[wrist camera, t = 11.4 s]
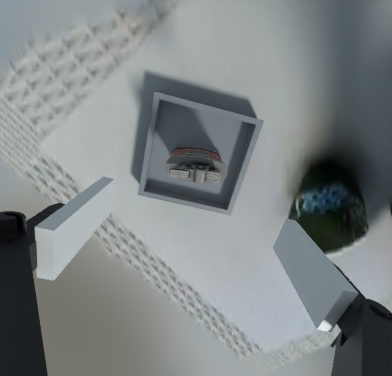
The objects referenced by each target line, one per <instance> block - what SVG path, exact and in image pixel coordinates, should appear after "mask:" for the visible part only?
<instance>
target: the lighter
mask: <svg viewBox="0 0 392 376" xmlns="http://www.w3.org/2000/svg"><path fill="white" fill-rule="evenodd" d="M165 170H166V173H167V174H168V175H169V176H170V177H174V178H177V179H181V180H185V181H190V182H196V183H216V182H222V181H223V180H225V178H226V177H227V174H228V169H227V166H226V165H225V164H224V163H223V161H222V157H221V155H220V153H219V152H217V151H214V150H211V149H208V148H203V147H198V146H178V147H175V148H174V149H173V151H172V153H171V157H170V158H168V160H167V162H166V164H165Z"/></svg>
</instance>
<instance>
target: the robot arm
mask: <svg viewBox="0 0 392 376" xmlns="http://www.w3.org/2000/svg"><path fill="white" fill-rule="evenodd" d="M113 186H114V179H111V178H107V177H102V178H101V179H100V180H98V181H97V182H95V183H94V184H93V185H91V186H90V187H89V188H87V189H86V190H84V191H83V192H82V193H80V194H79V195H78V196H76V197H75V198H74V199H72V200H71V201H69V202H68V203H67V204H62V203H57V204H54V205H51V206H49V207H47V208H46V209H44V210H43V211H42V212H39V213H38V214H36V216H33V217H32V218H30V219H29V220H27V221H26V217H25V215H24V214H22V213H20V212H13V211H11V212H10V211H6V212H0V376H48V375H47V368H46V361H45V354H44V347H43V341H42V334H41V327H40V320H39V313H38V306H37V299H36V292H35V286H34V279H33V273H32V272H33V271H34V270H35V268H36V269H37V277H38V278H43V279H48V280H55V279H56V278H57V276H58V275H59V274H60V273H61V272H62V270H63V269H64V268H65V267H66V265H67V264H68V263H69V262H70V261H71V260H72V258H73V257H74V256H75V255H76V253H77V252H78V251H79V250H80V249H81V247H82V246H83V245H84V244H85V242H86V241H87V240H88V239H89V238H90V237H91V235H92V234H93V233H94V232H95V231H96V229H97V228H98V227H99V226H100V225H101V223H102V222H103V221H104V220H105V219H106V217H107V216H108V215H109V214H110V213H111V204H112V195H113ZM273 249H274V250H275V252H276V254H277V256H278V258H279V260H280V262H281V263H282V265H283V267H284V269H285V271H286V273H287V275H288V276H289V278H290V280H291V282H292V284H293V286H294V288H295V289H296V291H297V293H298V295H299V297H300V299H301V301H302V302H303V304H304V306H305V308H306V310H307V312H308V314H309V315H310V317H311V319H312V321H313V323H314V325H315V327H316V328H317V330H323V331H328V332H331V331H332V330H333V328H334V327H335V325H336V324H337V325H338V326H339V328H340V329H341V332H340V333H339V335H338V336H337V337H336V339H335V340H334V341H333V343H332V344H331V347H334V346H335V345H336V350H335V356H334V362H333V368H332V374H331V376H392V313H391V312H390V311H389V310H388V309H387V308H385V307H384V306H382V305H381V304H379V303H377V302H375V301H373V300H370V299H366V298H365V297H364V296H363V295H362V293H361V292H360V291H359V290H358V289H357V288H356V287H355V286H354V284H353V283H352V282H351V281H349V279H348V278H347V276H345V275H344V273H343V272H342V271H341V270H340V269H339V267H337V266H336V265H335V264H334V263H332V262H331V261H330V260H329V259H328V257H327V256H326V255H325V254H324V253H323V252H322V251H321V249H320V248H319V247H318V246H317V245H316V244H315V242H314V241H313V240H312V239H311V238H310V237H309V236H308V234H307V233H306V232H305V231H304V230H303V229H302V227H301V226H300V225H299V224H298V223H297V222H296V221H294V220H290V219H286V221H285V223H284V225H283V227H282V229H281V231H280V234H279V236H278V238H277V240H276V242H275V244H274V247H273Z"/></svg>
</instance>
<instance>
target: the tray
mask: <svg viewBox="0 0 392 376" xmlns="http://www.w3.org/2000/svg"><path fill="white" fill-rule="evenodd" d="M262 124H263V120H260V119H256V118H252V117H248V116H245V115H241V114H237V113H234V112H230V111H226V110H222V109H219V108H215V107H211V106H208V105H204V104H200V103H196V102H193V101H189V100H185V99H181V98H178V97H174V96H170V95H167V94H163V93H159V92H155V91H154V97H153V103H152V109H151V116H150V122H149V128H148V135H147V141H146V147H145V154H144V160H143V166H142V173H141V179H140V185H139V192H138V195H141V196H146V197H150V198H155V199H159V200H164V201H168V202H173V203H177V204H182V205H186V206H191V207H195V208H200V209H204V210H209V211H213V212H218V213H222V214H227V215H231V212H232V210H233V207H234V204H235V201H236V198H237V195H238V192H239V190H240V187H241V184H242V181H243V178H244V175H245V173H246V170H247V167H248V164H249V161H250V158H251V155H252V153H253V150H254V147H255V144H256V141H257V138H258V135H259V133H260V130H261V127H262ZM178 146H198V147H203V148H208V149H211V150H214V151H217V152H219V153H220V155H221V157H222V161H223V163H224V164H225V165H226V166H227V169H228V174H227V177H226V178H225V180H223V181H222V182H216V183H196V182H190V181H185V180H181V179H177V178H174V177H170V176H169V175H168V174H167V173H166V170H165V164H166V162H167V160H168V158H170V157H171V153H172V151H173V149H174V148H175V147H178Z"/></svg>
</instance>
